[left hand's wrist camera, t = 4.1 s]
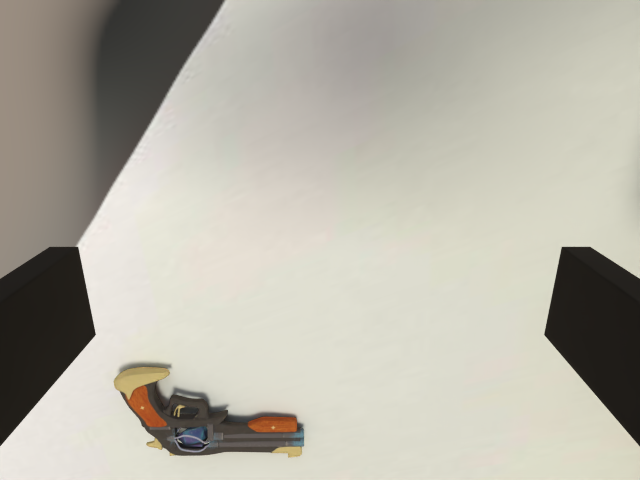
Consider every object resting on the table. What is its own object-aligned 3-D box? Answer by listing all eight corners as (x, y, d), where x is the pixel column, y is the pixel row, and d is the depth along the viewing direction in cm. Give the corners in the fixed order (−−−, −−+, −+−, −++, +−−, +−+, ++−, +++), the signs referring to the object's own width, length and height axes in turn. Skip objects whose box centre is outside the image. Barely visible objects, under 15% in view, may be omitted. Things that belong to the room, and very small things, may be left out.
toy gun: (108, 376, 43) (114, 466, 45) (307, 377, 45) (303, 464, 47) (119, 362, 46) (124, 447, 48) (306, 364, 47) (302, 446, 49)
